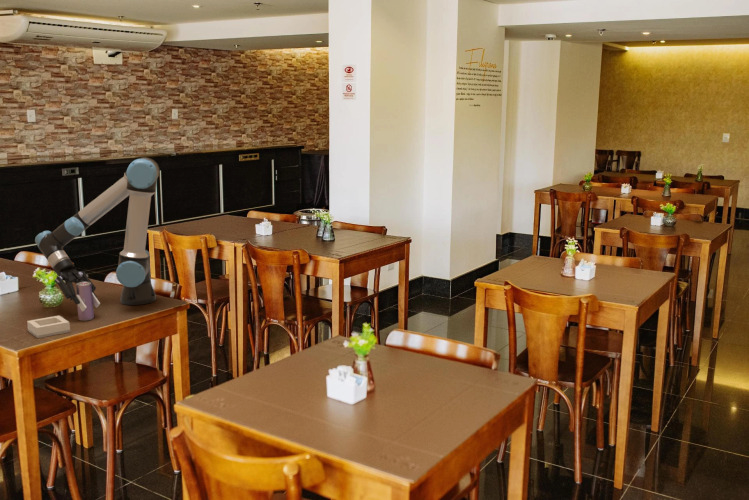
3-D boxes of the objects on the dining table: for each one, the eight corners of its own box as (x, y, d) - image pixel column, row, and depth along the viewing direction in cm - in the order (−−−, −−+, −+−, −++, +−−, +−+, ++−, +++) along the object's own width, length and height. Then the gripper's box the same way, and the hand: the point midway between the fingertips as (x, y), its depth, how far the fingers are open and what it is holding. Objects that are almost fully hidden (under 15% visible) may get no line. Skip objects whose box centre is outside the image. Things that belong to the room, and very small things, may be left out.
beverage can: (96, 317, 303) (94, 281, 300) (89, 321, 297) (87, 285, 294) (82, 316, 304) (80, 281, 301) (75, 320, 298) (72, 284, 295)
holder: (60, 325, 292) (59, 315, 291) (70, 332, 283) (69, 322, 282) (28, 330, 284) (27, 321, 284) (37, 338, 275) (36, 327, 275)
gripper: (76, 265, 312) (106, 307, 308) (37, 273, 296) (67, 318, 291) (84, 254, 309) (114, 296, 304) (44, 262, 293) (75, 307, 288)
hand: (91, 307), depth 298 cm, fingers closed on beverage can, 6 cm apart
